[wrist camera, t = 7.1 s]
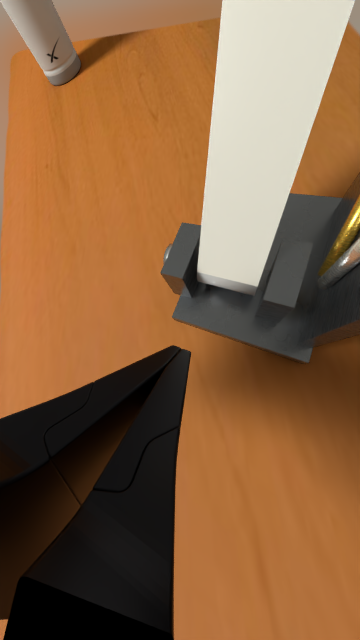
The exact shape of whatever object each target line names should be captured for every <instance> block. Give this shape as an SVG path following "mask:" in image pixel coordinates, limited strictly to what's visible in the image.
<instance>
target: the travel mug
mask: <svg viewBox="0 0 360 640" xmlns="http://www.w3.org/2000/svg"><path fill="white" fill-rule="evenodd" d="M0 2H1V3H2V5H3V7H4V8H5V10H6V11H7V13H8V15H9V16H10V18H11V20H12V21H13V23H14V24H15V26H16V28H17V29H18V31H19V33H20V34H21V36H22V37H23V39H24V41H25V42H26V44H27V46H28V47H29V49H30V51H31V52H32V54H33V55H34V57H35V59H36V60H37V62H38V64H39V65H40V67H41V68H42V69H43V71H44V73H45V75H46V77H47V78H48V80H49V81H50V83H51V84H53V85H56V86H59V85H62V84H65V83H67V82H68V81H70V80H71V79H72V78H73V77H74V76H75V75H76V74H77V73H78V71H79V70H80V66H81V62H80V59H79V57H78V55H77V53H76V51H75V49H74V48H73V45H72V42H71V40H70V38H69V36H68V34H67V32H66V30H65V28H64V26H63V24H62V21H61V19H60V17H59V15H58V13H57V11H56V9H55V7H54V5H53V2H52V0H0Z"/></svg>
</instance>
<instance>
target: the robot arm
mask: <svg viewBox="0 0 360 640" xmlns="http://www.w3.org/2000/svg"><path fill="white" fill-rule="evenodd" d="M190 357H191V352H190V351H187V350H185V349H181V348H179V347H177V346H174V345H172V346H170V347H168V348H165V349H163V350H161V351H159V352H157V353H155V354H152V355H150V356H148V357H146V358H144V359H142V360H139V361H137V362H135V363H133V364H131V365H129V366H126V367H124V368H122V369H120V370H118V371H116V372H113V373H111V374H109V375H107V376H105V377H103V378H100V379H98V380H96V381H95V382H91V383H89V384H87V385H85V386H83V387H81V388H78V389H76V390H74V391H71V392H69V393H67V394H64V395H62V396H59V397H57V398H54V399H52V400H49V401H47V402H44V403H41V404H38V405H36V406H33V407H30V408H28V409H25V410H22V411H20V412H17V413H14V414H12V415H9V416H6V417H3V418H1V419H0V620H3V619H8V623H7V627H6V631H5V635H4V639H3V640H174V532H175V484H176V463H177V452H178V443H179V436H180V427H181V421H182V414H183V407H184V400H185V393H186V385H187V378H188V371H189V364H190Z"/></svg>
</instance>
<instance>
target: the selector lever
mask: <svg viewBox="0 0 360 640" xmlns="http://www.w3.org/2000/svg"><path fill="white" fill-rule="evenodd" d="M354 2H355V0H223V3H222V14H221V24H220V34H219V45H218V55H217V66H216V76H215V87H214V98H213V108H212V119H211V129H210V140H209V150H208V161H207V172H206V182H205V193H204V203H203V214H202V224H201V235H200V246H199V256H198V267H197V280H198V282H202V283H206V284H210V285H214V286H218V287H221V288H225V289H229V290H233V291H237V292H241V293H245V294H249V295H253V296H255V293H256V290H257V287H258V284H259V281H260V278H261V275H262V272H263V269H264V266H265V263H266V260H267V258H268V255H269V252H270V249H271V246H272V243H273V240H274V237H275V234H276V231H277V228H278V225H279V222H280V219H281V216H282V213H283V211H284V208H285V205H286V202H287V199H288V196H289V193H290V190H291V187H292V184H293V181H294V178H295V175H296V172H297V169H298V166H299V164H300V161H301V158H302V155H303V152H304V149H305V146H306V143H307V140H308V137H309V134H310V131H311V128H312V125H313V122H314V119H315V116H316V114H317V111H318V108H319V105H320V102H321V99H322V96H323V93H324V90H325V87H326V84H327V81H328V78H329V75H330V72H331V69H332V67H333V64H334V61H335V58H336V55H337V52H338V49H339V46H340V43H341V40H342V37H343V34H344V31H345V28H346V25H347V22H348V20H349V16H350V14H351V11H352V8H353V5H354Z"/></svg>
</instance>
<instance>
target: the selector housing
mask: <svg viewBox="0 0 360 640" xmlns="http://www.w3.org/2000/svg"><path fill="white" fill-rule="evenodd" d="M200 235H201V225H195V224H188V223H182V224H181V226H180V228H179V231H178V233H177V235H176V238H175V240H174V242H173V244H170V245H169V246H168V247H167V249H166V251H165V254H164V266H163V268H162V270H161V275H162V276H163V277H164V279H165V280H166V282H167V283H168V285H169V286H170V288H171V289H172V291H173V292H174V293H175V294H179V295H181V296H180V298H179V301H178V303H177V306H176V308H175V311H174V313H173V316H172V318H173V319H174V320H176V321H179V322H182V323H185V324H188V325H190V326H193V327H196V328H199V329H202V330H205V331H208V332H211V333H214V334H217V335H220V336H223V337H226V338H229V339H232V340H235V341H238V342H241V343H244V344H247V345H250V346H252V347H255V348H258V349H261V350H264V351H267V352H270V353H273V354H276V355H279V356H282V357H285V358H288V359H291V360H294V361H297V362H300V363H303V364H304V363H309V360H310V357H311V353H312V349H313V347H316V346H320V345H323V344H327V343H331V342H334V341H338V340H341V339H345V338H348V337H352V336H356V335H359V334H360V173H359V174H358V176H357V177H356V179H355V180H354V182H353V183H352V185H351V186H350V188H349V189H348V191H347V192H346V194H345V195H344V197H343V198H336V197H325V196H313V195H302V194H291V193H289V196H288V199H287V202H286V205H285V208H284V211H283V213H282V216H281V219H280V222H279V225H278V228H277V231H276V234H275V237H274V240H273V243H272V246H271V249H270V252H269V255H268V258H267V260H266V263H265V266H264V269H263V272H262V275H261V278H260V281H259V284H258V287H257V290H256V293H255V296H253V295H249V294H245V293H241V292H237V291H233V290H229V289H225V288H221V287H218V286H214V285H210V284H206V283H202V282H198V280H197V267H198V256H199V246H200Z"/></svg>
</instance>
